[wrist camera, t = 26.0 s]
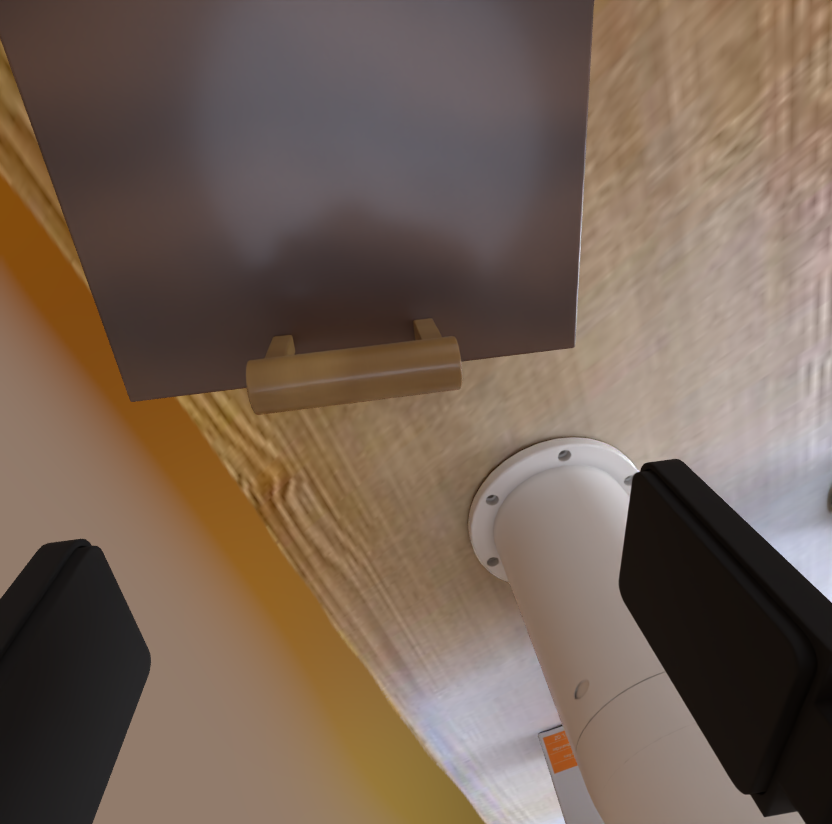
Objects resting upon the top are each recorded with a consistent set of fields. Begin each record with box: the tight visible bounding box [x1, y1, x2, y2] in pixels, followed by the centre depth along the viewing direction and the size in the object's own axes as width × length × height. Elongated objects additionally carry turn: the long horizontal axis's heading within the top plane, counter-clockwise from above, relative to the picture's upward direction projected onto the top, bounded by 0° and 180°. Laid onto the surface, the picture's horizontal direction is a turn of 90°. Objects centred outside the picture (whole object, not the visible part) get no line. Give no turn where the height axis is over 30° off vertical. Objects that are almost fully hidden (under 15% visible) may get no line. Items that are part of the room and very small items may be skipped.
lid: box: [0, 0, 594, 415], centre depth 14 cm, size 16×17×5 cm
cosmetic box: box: [538, 726, 605, 824], centre depth 45 cm, size 6×4×12 cm
